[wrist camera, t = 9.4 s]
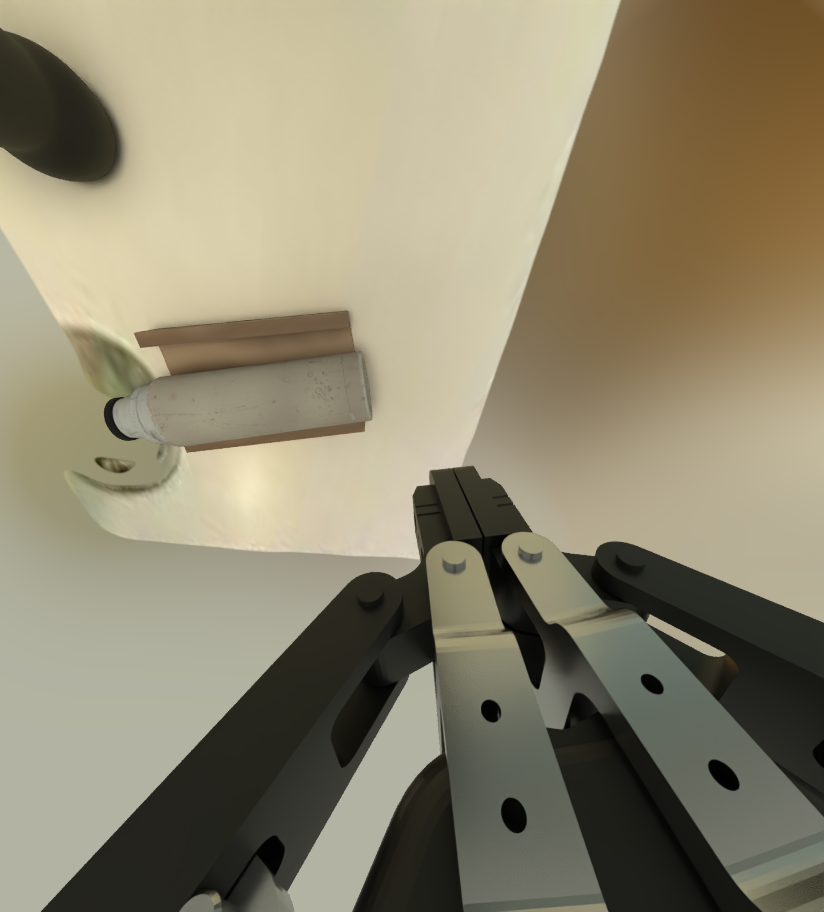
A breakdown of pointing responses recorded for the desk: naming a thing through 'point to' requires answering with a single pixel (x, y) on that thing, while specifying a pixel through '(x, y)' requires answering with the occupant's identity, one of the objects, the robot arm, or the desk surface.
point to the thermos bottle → (244, 401)
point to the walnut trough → (255, 355)
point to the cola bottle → (51, 114)
